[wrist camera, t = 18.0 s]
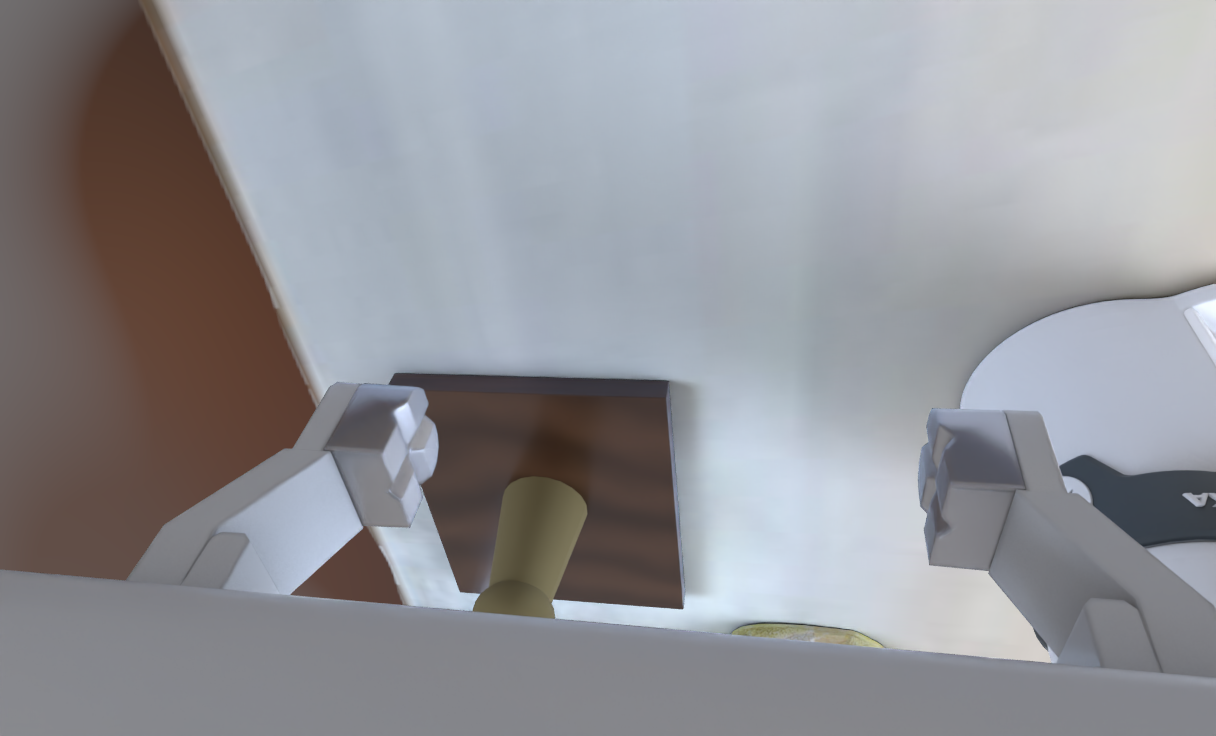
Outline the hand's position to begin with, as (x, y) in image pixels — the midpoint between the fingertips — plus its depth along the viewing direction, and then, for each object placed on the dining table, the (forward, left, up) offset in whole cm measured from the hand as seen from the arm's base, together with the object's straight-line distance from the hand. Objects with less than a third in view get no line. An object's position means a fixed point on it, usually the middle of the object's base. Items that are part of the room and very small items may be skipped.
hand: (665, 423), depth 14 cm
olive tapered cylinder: (-7, +38, -28) cm, 47 cm away
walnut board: (-7, +38, -29) cm, 48 cm away
